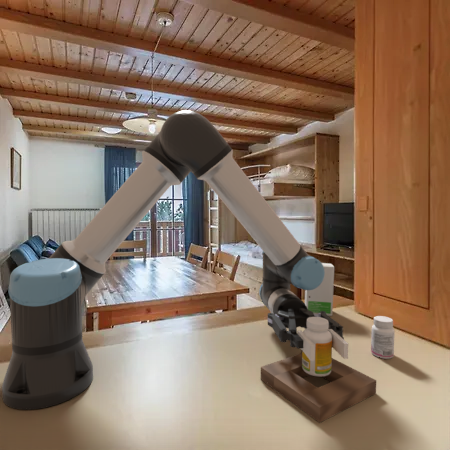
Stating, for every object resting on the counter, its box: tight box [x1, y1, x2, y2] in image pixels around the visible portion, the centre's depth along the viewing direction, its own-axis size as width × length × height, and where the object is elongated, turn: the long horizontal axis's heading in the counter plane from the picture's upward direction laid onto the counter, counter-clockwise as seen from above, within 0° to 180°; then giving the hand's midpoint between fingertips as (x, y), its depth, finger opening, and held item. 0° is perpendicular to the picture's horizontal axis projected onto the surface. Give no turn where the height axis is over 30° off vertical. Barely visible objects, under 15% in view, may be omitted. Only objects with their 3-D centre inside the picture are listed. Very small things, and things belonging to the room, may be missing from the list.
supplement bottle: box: [301, 317, 333, 378], centre depth 61 cm, size 5×5×10 cm
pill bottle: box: [370, 315, 395, 360], centre depth 75 cm, size 5×5×8 cm
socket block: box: [260, 352, 377, 423], centre depth 62 cm, size 15×15×2 cm
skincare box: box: [304, 262, 335, 317], centre depth 103 cm, size 8×7×16 cm
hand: (329, 351), depth 56 cm, fingers closed on supplement bottle, 5 cm apart
